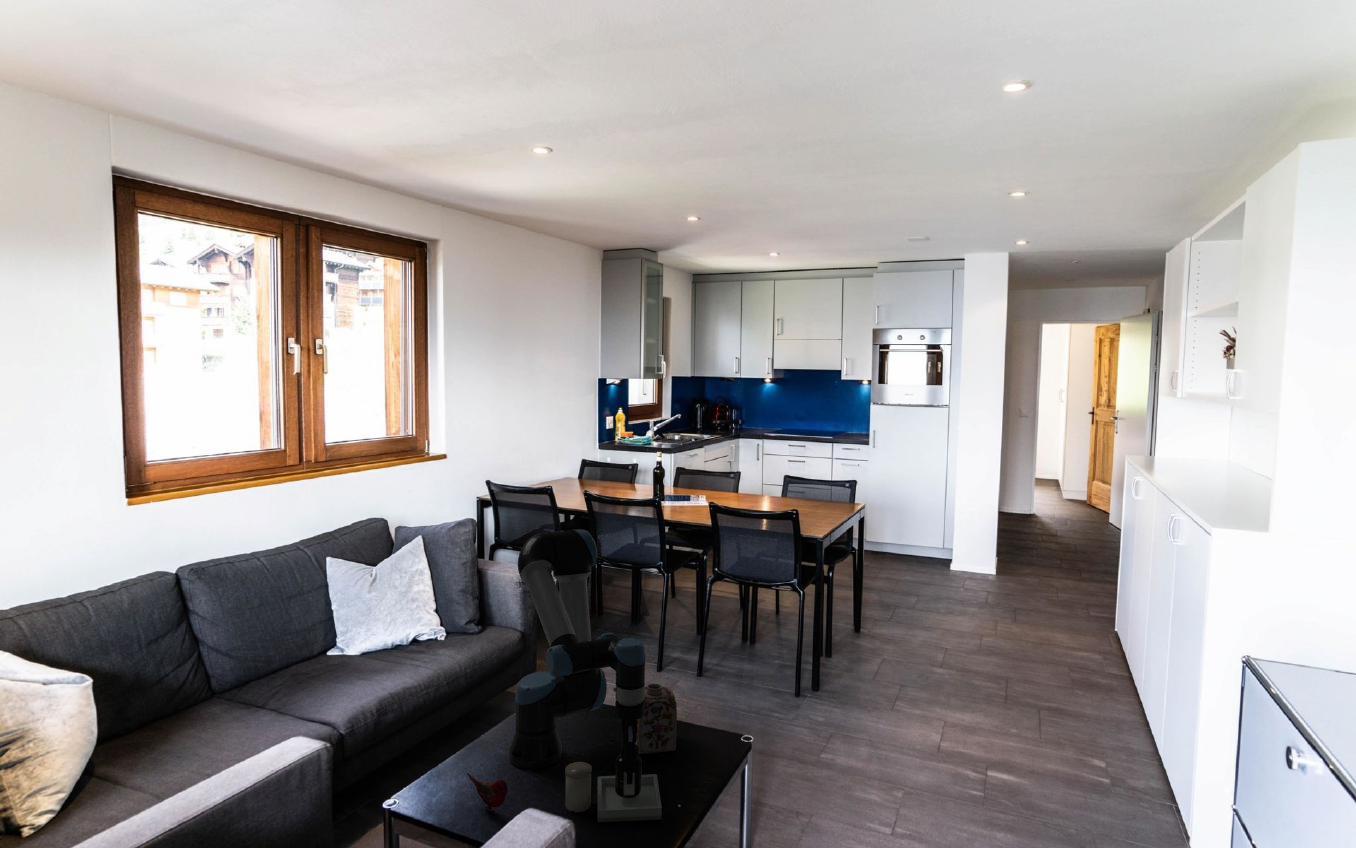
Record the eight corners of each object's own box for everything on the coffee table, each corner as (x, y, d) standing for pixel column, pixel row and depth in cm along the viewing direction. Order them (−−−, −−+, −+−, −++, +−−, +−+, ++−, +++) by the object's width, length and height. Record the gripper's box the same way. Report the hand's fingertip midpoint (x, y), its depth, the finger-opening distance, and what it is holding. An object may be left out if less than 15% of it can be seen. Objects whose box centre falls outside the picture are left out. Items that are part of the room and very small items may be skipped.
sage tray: (597, 787, 200) (597, 776, 200) (656, 785, 202) (656, 774, 202) (597, 822, 185) (597, 810, 184) (661, 819, 186) (661, 808, 186)
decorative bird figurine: (503, 825, 183) (503, 786, 182) (462, 798, 194) (462, 761, 193) (512, 820, 185) (513, 781, 184) (471, 793, 196) (471, 757, 196)
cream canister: (565, 798, 195) (565, 762, 194) (591, 797, 196) (591, 761, 195) (564, 813, 188) (564, 776, 188) (591, 812, 189) (591, 775, 188)
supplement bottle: (620, 801, 189) (620, 755, 188) (611, 787, 195) (612, 743, 194) (645, 796, 191) (646, 751, 191) (636, 782, 198) (636, 739, 197)
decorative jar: (638, 755, 218) (638, 695, 217) (631, 736, 229) (632, 680, 228) (677, 751, 221) (678, 692, 220) (668, 733, 232) (669, 677, 231)
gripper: (614, 685, 201) (613, 767, 203) (616, 718, 182) (614, 808, 183) (642, 684, 202) (640, 766, 203) (646, 717, 182) (645, 807, 184)
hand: (628, 786), depth 193 cm, fingers closed on supplement bottle, 7 cm apart
